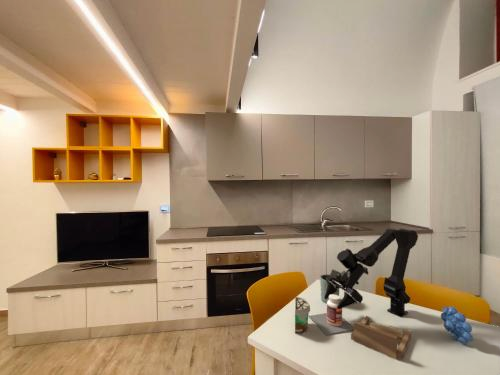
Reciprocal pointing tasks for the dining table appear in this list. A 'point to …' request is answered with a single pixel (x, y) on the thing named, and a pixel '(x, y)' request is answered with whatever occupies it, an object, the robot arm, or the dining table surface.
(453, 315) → the grapes
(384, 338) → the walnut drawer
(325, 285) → the grey-green rounded cylinder
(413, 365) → the dining table surface
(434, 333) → the dining table surface
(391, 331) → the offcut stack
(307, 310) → the food container
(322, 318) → the slate mat
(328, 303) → the pill bottle
